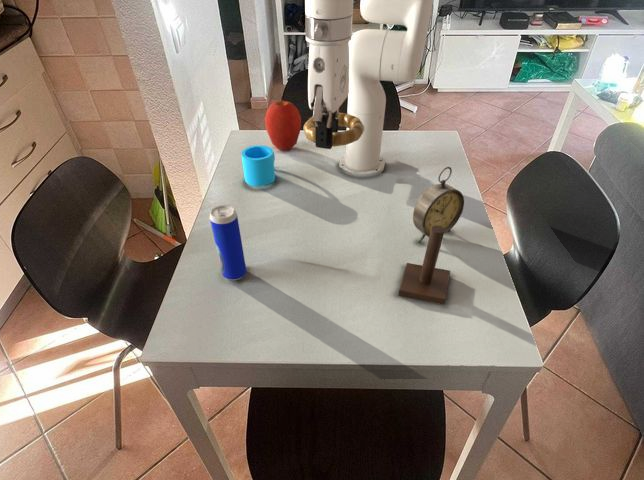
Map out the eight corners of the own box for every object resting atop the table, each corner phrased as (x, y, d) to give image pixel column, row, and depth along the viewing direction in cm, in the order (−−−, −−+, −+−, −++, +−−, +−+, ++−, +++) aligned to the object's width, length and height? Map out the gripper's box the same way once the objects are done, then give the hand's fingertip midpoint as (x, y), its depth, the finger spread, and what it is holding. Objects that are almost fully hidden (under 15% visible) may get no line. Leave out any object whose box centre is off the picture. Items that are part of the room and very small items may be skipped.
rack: (405, 268, 91) (417, 212, 81) (448, 276, 89) (465, 219, 79) (398, 295, 86) (409, 239, 75) (443, 304, 84) (461, 248, 73)
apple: (307, 144, 129) (306, 94, 119) (291, 158, 124) (288, 107, 113) (278, 138, 133) (274, 88, 122) (261, 151, 127) (256, 100, 116)
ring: (315, 119, 91) (315, 107, 89) (369, 126, 88) (370, 114, 86) (295, 143, 84) (295, 131, 82) (353, 151, 81) (354, 138, 79)
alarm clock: (419, 248, 95) (434, 179, 83) (404, 236, 98) (417, 168, 86) (457, 234, 98) (477, 166, 86) (442, 222, 102) (459, 155, 89)
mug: (266, 192, 112) (263, 162, 106) (239, 186, 114) (235, 156, 108) (287, 172, 119) (285, 142, 113) (261, 166, 121) (258, 137, 115)
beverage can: (223, 267, 93) (209, 204, 81) (246, 265, 93) (236, 203, 81) (222, 282, 89) (207, 220, 78) (246, 281, 89) (236, 218, 78)
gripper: (336, 44, 63) (332, 165, 77) (364, 17, 73) (356, 129, 87) (289, 40, 65) (293, 159, 79) (322, 14, 75) (321, 124, 89)
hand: (326, 142), depth 83 cm, fingers closed on ring, 2 cm apart
